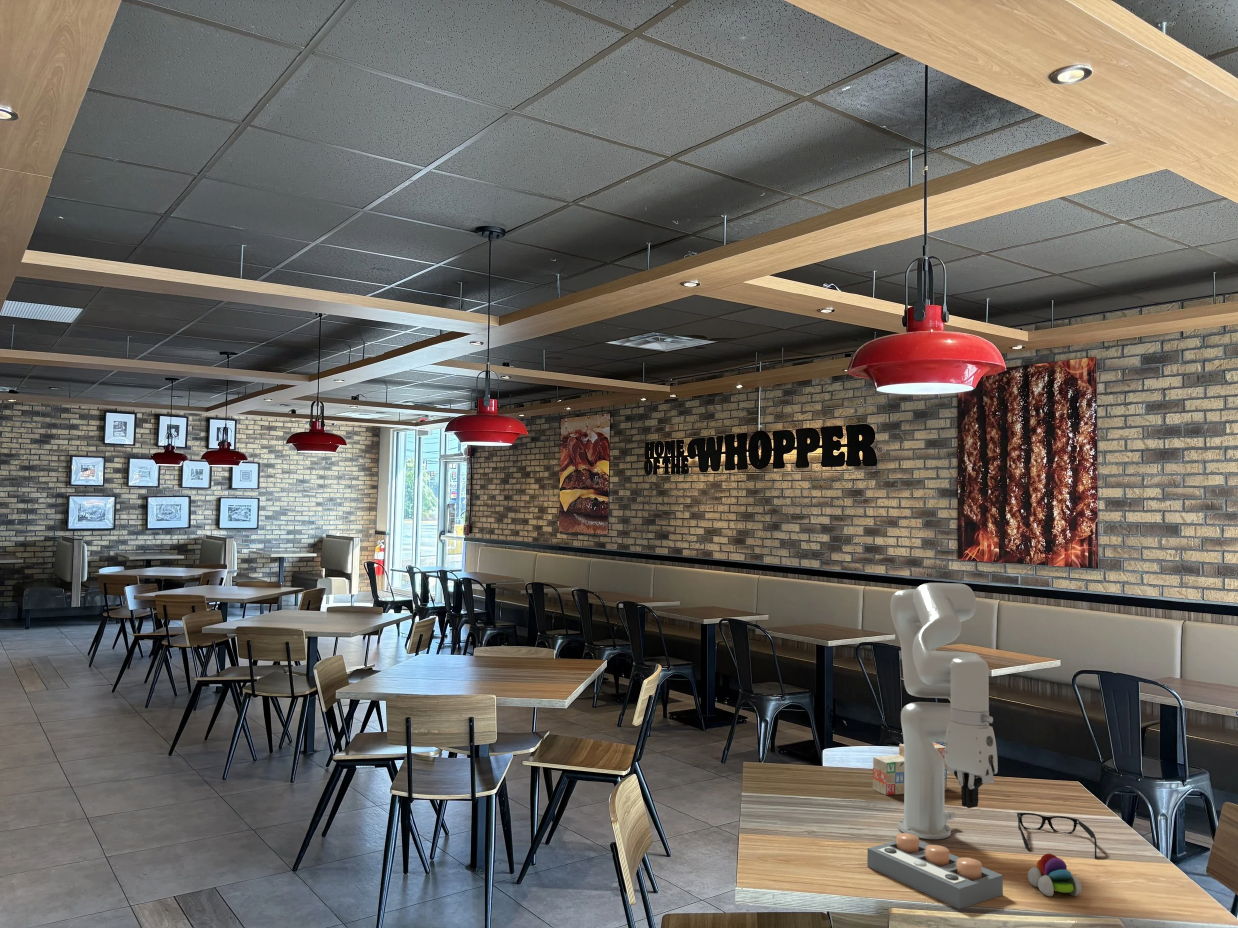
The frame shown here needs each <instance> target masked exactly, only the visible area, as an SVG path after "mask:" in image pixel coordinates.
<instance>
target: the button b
mask: <svg viewBox="0 0 1238 928" xmlns="http://www.w3.org/2000/svg"><path fill="white" fill-rule="evenodd" d="M927 845H928V846H926V861H927V862H929V863H932V864H934V865H936V866H939V867H941V866H945V865H948V864H949V853H950V849H948V847H946V846H944V845H942V846H941V845H938V844H927Z"/></svg>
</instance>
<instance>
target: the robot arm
mask: <svg viewBox="0 0 1238 928" xmlns="http://www.w3.org/2000/svg"><path fill="white" fill-rule="evenodd" d="M976 611H977V598H976V595H975V592H974V591H973V590H972V588H971V587H970V586H968V585H966V584H963V583H949V582H947V583H946V582H928V583H927V582H926V583H923V584H921V585H919V586H918V587H916V588H913V589H912V588H910V589H909V588H908V589H907V588H906V589H901V590H898V591H896V592H894V593H893V594H892V596H891V599H890V615H891V619H892V622H893V623H892V624H893V626H894V629H895V632H896V634H897V636H898V639H899V642H900V650H901V651H900V652H901V663H902V674H903V684H904V688H905V690H906V692H907V694H909V695H911V696H914V697H919V698H935V699H937V698H938V699H948V700H949V701H950V703H949V702H946V703H945V702H929V701H916V702H910V703H908V704H906V705H904V706H903V708H901V711H900V723H901V729H902V737H903V739H902V740H903V744H904V793H903V800H904V801H903V803H904V805H903V810H904V812H903V818H902V819H900V820H898V821H897V828H898V830H900V831H901V833H908V834H913V835H916V836H917V837H919V839H925V840H944V839H947V838H949V837H950V836H951V835H952V829H951V827H950V826H949V825H947V822H948V821H949V820H953V819H954V820H955V818H956V813H955V812H954V811H953V810H948V811H945V790H944V760H943V757H942V755H941V754H940V753H939V751H938V750H937V749H936V748H935V747H934V743H936V744H937V743H944V746H945V763H946V765H947V773H950V774H951V775H954V776H955V778H956V779H957V782H958V783H957V784H958V786H959V787H960V789H961V790H960V793H961V798H960V799H961V806H962V807H964V808H967V809H972V808H977V807H978V806H979V788H981V787H982V785H984V784H991V783H992V784H993V783H995V779H994V775H996V774H997V773H998V772H999V771H998V769H999V767H998V766H999V765H998V751H997V742H996V737H995V732H994V729H993V726H990V724H993V722H994V718H993V716H990V710H989V709H990V707H989V706H990V702H989V701H990V699H989V697H990V696H989V695H990V694H989V690H990V686H989V684H990V683H989V673H990V671H989V665H988V662H987V660H984V659H983V658H982V657H981V656H980V655H979V654H978V653H975V652H969V651H968V652H966V651H965V652H964V651H946V650H945V651H944V650H942V651H941V650H937V649H938V648H941V647H943V646H945V645H948V644H950V643H952V642H954V641H955V640H957V638H958V637H959V636H960V634H961V632H962V622H965V621H968V620H969V619H971V618H972V617H974V615H975V613H976Z"/></svg>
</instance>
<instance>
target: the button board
mask: <svg viewBox="0 0 1238 928" xmlns="http://www.w3.org/2000/svg"><path fill="white" fill-rule="evenodd" d="M928 845H929V844H928V843H925V842H922V841H920V840H919V852H915V853H911V854H908V853H906V852H903V851H901V850H899V849H897V840H895V841H890V842H887V843H883V844H880V845H879V844H878V845H873V846H870V847H868V848H867V855H866V856H867V862H866V863H867V864H866V866H867V868H870V869H872V870H874V871H876V872H877V873H878V872H879V873H880V874H883V875H885V876H887V877H889V878H891V879H893V880H895V881H898V882H900V883H902V884H904V885H905V886H909V887H910V888H912V889H914V890H917V891H919V892H922V893H924V894H926V895H927V896H930V897H932V898H934V899H936V900H939V901H941V902H943V903H945V904H947V905H949V906H951V907H953V908H956V909H958V910H961V909H965V908H967V907H970V906H973V905H976V904H980V903H984V902H985V901H988V900H989V901H990V900H991V899H996V898H997V897H1000V896H1003V895H1004V881H1003V880H1004V878H1003V877H1004V876H1003V874H1001V873H998V872H996V871H993V870H991V869H988V868H986V867H985V866H984V867H983V866H982V878H980V879H977V880H974V881H971V880H969V879H967V878H964V877H962V876H960V875H957V859H958V858H960V857H959V856H957V855H954V854H952V853H950V852H949V864H948V865H945V866H941V867H939V866H936V865H934V864H932V863H929V862H927V861H926V846H928Z"/></svg>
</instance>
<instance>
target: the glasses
mask: <svg viewBox="0 0 1238 928" xmlns="http://www.w3.org/2000/svg"><path fill="white" fill-rule="evenodd" d="M1025 815H1026V816H1034V817H1035V816H1036V817H1040V818H1041V824H1040V826H1039V827H1038V828H1033V830H1037V831H1040V830H1041V829H1042V828H1043V827H1044V826H1046V825H1045V824H1046V822H1047V823H1048V825H1049V827H1050V829H1051V830H1052V831H1053V832H1056V833H1063V834H1069V835H1071V834H1073V833H1075V832H1076V829H1077V826H1078V825H1079V826H1080V827H1081V828H1082V829H1083V830H1084V832H1086V833H1087V834H1088V836H1089V837H1090V838H1091V839H1093V840H1094V859H1095V860H1097V859H1098V858H1097V857H1098V856H1097V846H1098V845H1097V843H1098V842H1097V838H1096V835H1095V833H1094V832H1093V830H1092V829H1091V828H1090V827H1089V826H1087V825H1086V824H1084V822H1082V821H1081V820H1080V819H1078V818H1075V817H1069V816H1065V815H1064V816H1063V815H1052V816H1045V815H1042V814H1038V813H1034V812H1017V813H1016V816H1017V827H1018V831H1019V832H1020V834H1021V835H1020V836H1021V838H1022V842H1023V844H1024V847H1025V849H1026V850H1027V851H1028V852H1031V851H1030V845H1029V843H1028V841H1027V839H1026V835H1025V834H1024V832H1023V829H1024V830H1030V828H1029V827H1026V826H1025V825H1024V823H1023V816H1025ZM1053 819H1066V820H1070V821H1072V823H1073V828H1072V830H1071V831H1068V832H1067V831H1066V832H1065V831H1064V832H1063V831H1059V830H1058V829H1055V827H1054V826H1053V822H1052V820H1053ZM1022 828H1023V829H1022Z"/></svg>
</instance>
